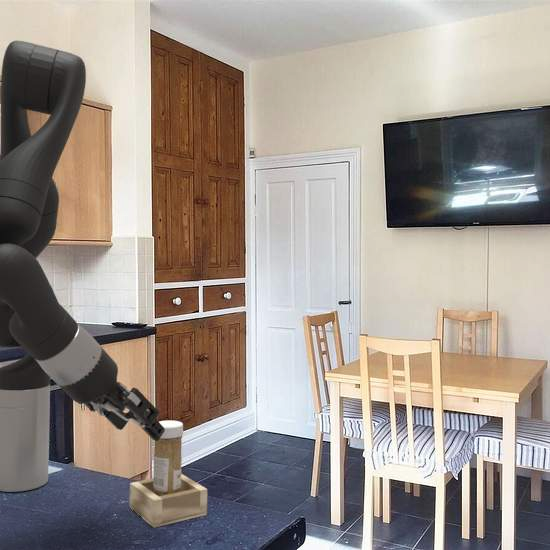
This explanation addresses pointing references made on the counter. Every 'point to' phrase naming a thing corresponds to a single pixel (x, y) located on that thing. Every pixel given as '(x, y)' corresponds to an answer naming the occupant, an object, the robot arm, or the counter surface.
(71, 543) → the counter surface
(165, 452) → the sprinkles bottle
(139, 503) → the socket block
